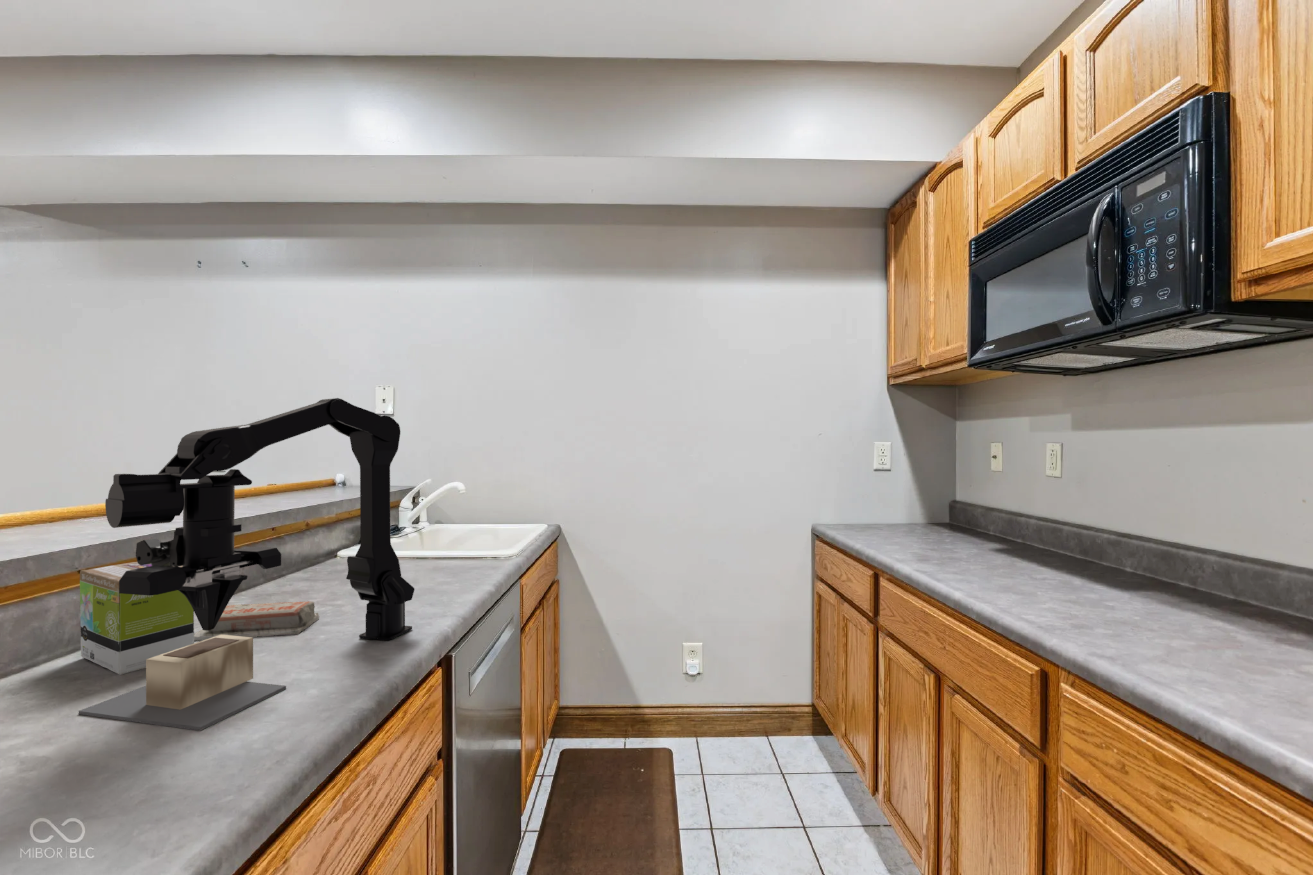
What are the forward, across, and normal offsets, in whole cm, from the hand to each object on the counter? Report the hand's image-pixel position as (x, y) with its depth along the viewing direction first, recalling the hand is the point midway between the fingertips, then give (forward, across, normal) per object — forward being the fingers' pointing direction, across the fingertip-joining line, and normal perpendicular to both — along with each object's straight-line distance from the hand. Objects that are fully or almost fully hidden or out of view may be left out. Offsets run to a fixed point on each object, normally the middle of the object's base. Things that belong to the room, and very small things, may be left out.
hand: (208, 629), depth 80 cm
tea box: (+9, -8, -25) cm, 28 cm away
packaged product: (+9, -24, -18) cm, 31 cm away
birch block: (+5, -4, 0) cm, 7 cm away
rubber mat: (+9, +3, 0) cm, 9 cm away
